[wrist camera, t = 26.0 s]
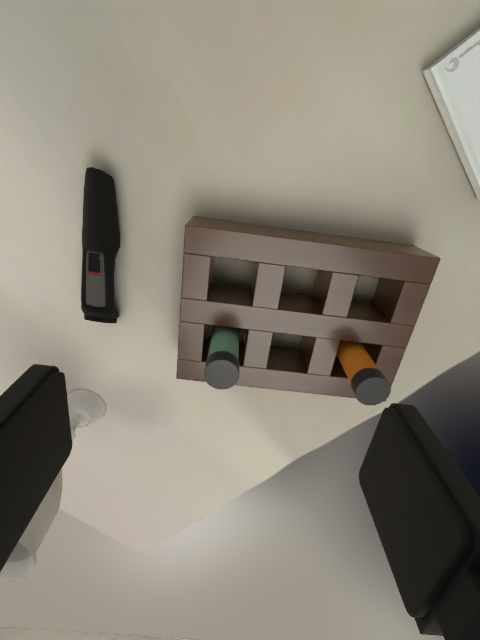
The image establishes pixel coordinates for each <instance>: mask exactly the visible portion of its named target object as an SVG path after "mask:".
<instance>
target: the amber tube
mask: <svg viewBox="0 0 480 640" xmlns="http://www.w3.org/2000/svg"><path fill="white" fill-rule="evenodd" d="M336 355H337V357H338V359H339V361H340V363H341V365H342V367H343V369H344V371H345V373H346V375H347V377H348V379H349V381H350V383H351V387H352V390H353V392H354V394H355V396H356V398H357V399H358V401H359V402H361V403H362V404H365V405H376V404H379V403H381V402H383V401H384V400H386V399H387V397H388V396H389V394H390V391H391V387H390V384H389V382H388V381H387V379H386V378H385V376H384V375H383V373H382V372H381V371H380V370H379V369H378V368H377V366H376V365H375V363H374V362H373V360H372V359H371V357H370V356H369V354H368V353H367V351H366V350H365V348H364V347H363V345H362V344H361V342H353V341H345V340H340V343H339V347H338V350H337V354H336Z"/></svg>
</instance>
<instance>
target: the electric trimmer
mask: <svg viewBox="0 0 480 640" xmlns="http://www.w3.org/2000/svg"><path fill="white" fill-rule="evenodd" d="M82 246H83V260H82V286H81V303H82V304H81V309H82V311H83V313H84V314H85V315H84V319H85V320H90V321H96V322H104V323H117V318H118V317H119V313H118V312H117V311H116V309H115V307H114V265H115V257H116V254H117V252H118V250H119V248H120V234H119V224H118V214H117V204H116V194H115V185H114V180H113V178H112V177H111V176H110V175H108V174H107V173H105V172H103V171H101V170H99V169H96V168H93V167H90V168H87V169H86V174H85V185H84V203H83V228H82Z"/></svg>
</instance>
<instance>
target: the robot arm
mask: <svg viewBox="0 0 480 640" xmlns="http://www.w3.org/2000/svg"><path fill="white" fill-rule="evenodd" d="M71 449H72V435H71V426H70V417H69V409H68V400H67V391H66V382H65V375H64V373H62V372H59V369H58V368H57V367H56V366H47V365H38V364H35V365H32V366H31V367H30V368H29V369H28V370H27V371H26V372H25V373H24V374H23V375H22V376H21V377H20V378H19V379H17V380H16V381H15V382H14V383H13V384H12V385H11V386H10V387H9V388H8V389H7V390H6V391H5V392H4V393H3V394H2V395H1V396H0V572H1V570H2V569H3V567H4V565H5V564H6V562H7V560H8V558H9V557H10V555H11V553H12V552H13V550H14V548H15V547H16V545H17V543H18V541H19V540H20V538H21V536H22V535H23V533H24V531H25V530H26V528H27V526H28V524H29V523H30V521H31V519H32V518H33V516H34V514H35V513H36V511H37V509H38V507H39V506H40V504H41V502H42V501H43V499H44V497H45V496H46V494H47V492H48V491H49V489H50V487H51V485H52V484H53V482H54V480H55V479H56V477H57V475H58V474H59V472H60V470H61V468H62V467H63V465H64V463H65V462H66V460H67V458H68V457H69V455H70V452H71ZM359 480H360V485H361V488H362V491H363V493H364V496H365V499H366V501H367V504H368V507H369V510H370V512H371V515H372V518H373V520H374V523H375V526H376V529H377V531H378V534H379V537H380V540H381V542H382V545H383V548H384V551H385V553H386V556H387V559H388V562H389V565H390V567H391V570H392V573H393V575H394V578H395V581H396V584H397V586H398V589H399V592H400V595H401V597H402V600H403V603H404V605H405V608H406V610H407V612H408V614H409V615H410V616H411V617H414V618H415V621H416V623H417V626H418V629H419V631H420V634H428V635H441V636H444V638H445V640H480V498H479V496H478V495H477V494H476V492H475V491H474V489H473V488H472V487H471V485H470V484H469V482H468V481H467V479H466V478H465V477H464V475H463V474H462V472H461V471H460V470H459V468H458V467H457V465H456V464H455V462H454V461H453V460H452V458H451V457H450V455H449V454H448V453H447V451H446V450H445V448H444V447H443V445H442V444H441V443H440V441H439V440H438V438H437V437H436V435H435V434H434V433H433V431H432V430H431V428H430V427H429V426H428V424H427V423H426V421H425V420H424V418H423V417H422V416H421V414H420V413H419V411H418V410H417V409H416V408H415V407H414V406H413V405H404V404H396V403H393V404H391V405H390V406H389V408H385V409H384V410H383V413H382V415H381V418H380V420H379V423H378V425H377V428H376V430H375V433H374V436H373V438H372V441H371V443H370V446H369V448H368V451H367V453H366V456H365V459H364V461H363V464H362V466H361V469H360V472H359ZM0 640H194V639H181V638H167V637H153V636H138V635H123V634H107V633H92V632H77V631H61V630H44V629H31V628H15V627H0Z"/></svg>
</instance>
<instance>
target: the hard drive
mask: <svg viewBox="0 0 480 640" xmlns="http://www.w3.org/2000/svg"><path fill="white" fill-rule="evenodd" d="M423 74H424V76H425V79H426V81H427V83H428V86H429V88H430V90H431V93H432V95H433V97H434V100H435V102H436V104H437V107H438V109H439V111H440V114H441V116H442V118H443V121H444V123H445V125H446V127H447V130H448V132H449V134H450V137H451V139H452V141H453V144H454V146H455V148H456V151H457V153H458V155H459V158H460V160H461V162H462V164H463V167H464V169H465V171H466V174H467V176H468V178H469V181H470V183H471V185H472V188H473V190H474V192H475V194H476V197H477V199H478V200H480V27H479V28H478V29H477V30H475V31H474V32H473V33H471V34H470V35H469V36H468V37H466V38H465V39H464V40H462V41H461V42H460V43H459V44H457V45H456V46H455V47H453V48H452V49H451V50H450V51H448V52H447V53H446V54H444V55H443V56H442V57H441V58H439V59H438V60H437V61H435V62H434V63H433V64H432V65H430V66H429V67H428V68H426V69H425V70H424V71H423Z"/></svg>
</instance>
